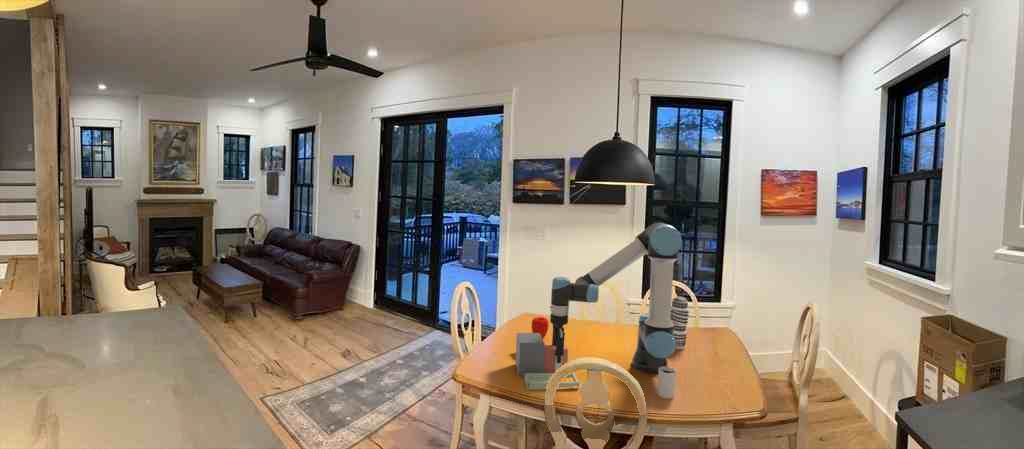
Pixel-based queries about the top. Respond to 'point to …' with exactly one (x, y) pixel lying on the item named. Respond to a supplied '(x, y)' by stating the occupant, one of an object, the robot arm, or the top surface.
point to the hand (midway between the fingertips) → (556, 366)
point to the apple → (540, 326)
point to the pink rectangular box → (552, 358)
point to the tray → (545, 380)
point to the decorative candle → (679, 320)
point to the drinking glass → (666, 382)
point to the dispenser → (529, 353)
